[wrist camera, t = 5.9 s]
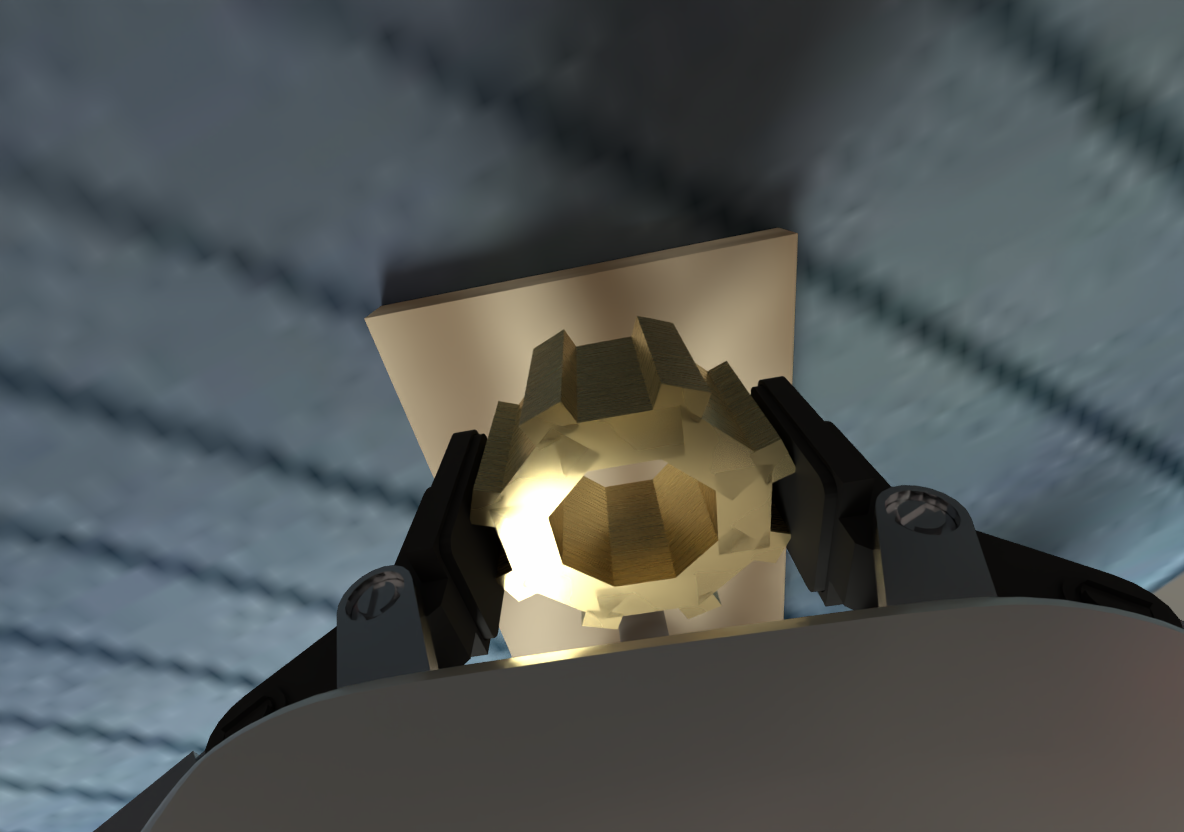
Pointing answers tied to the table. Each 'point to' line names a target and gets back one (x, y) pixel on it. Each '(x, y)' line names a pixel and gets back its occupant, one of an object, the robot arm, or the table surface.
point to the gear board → (589, 315)
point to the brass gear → (634, 510)
